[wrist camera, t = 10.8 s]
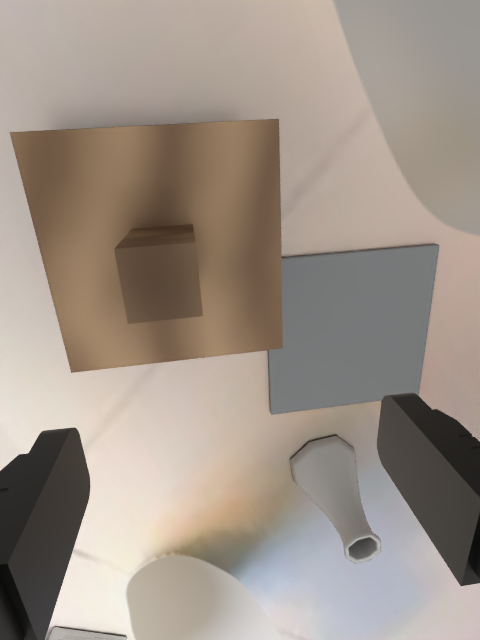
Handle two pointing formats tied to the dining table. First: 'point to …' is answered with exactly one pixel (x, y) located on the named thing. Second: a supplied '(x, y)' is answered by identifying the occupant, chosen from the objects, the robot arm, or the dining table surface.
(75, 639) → the supplement box
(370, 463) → the dining table surface
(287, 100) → the dining table surface
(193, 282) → the walnut lid
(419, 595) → the dining table surface
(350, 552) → the flask
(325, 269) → the rubber mat
